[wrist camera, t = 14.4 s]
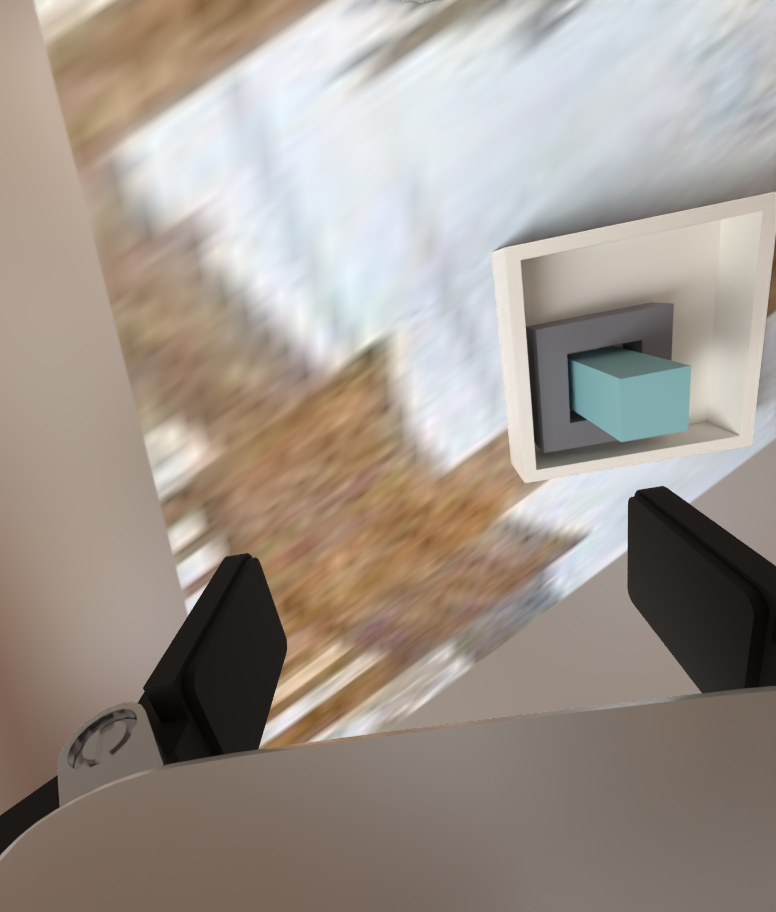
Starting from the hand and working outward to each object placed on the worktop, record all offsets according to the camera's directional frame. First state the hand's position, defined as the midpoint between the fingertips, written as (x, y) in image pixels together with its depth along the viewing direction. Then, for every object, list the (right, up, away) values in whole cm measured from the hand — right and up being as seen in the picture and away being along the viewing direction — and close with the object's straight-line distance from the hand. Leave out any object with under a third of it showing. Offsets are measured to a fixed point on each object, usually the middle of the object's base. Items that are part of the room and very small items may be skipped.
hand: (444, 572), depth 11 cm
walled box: (+17, +12, +26) cm, 33 cm away
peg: (+15, +10, +26) cm, 32 cm away
